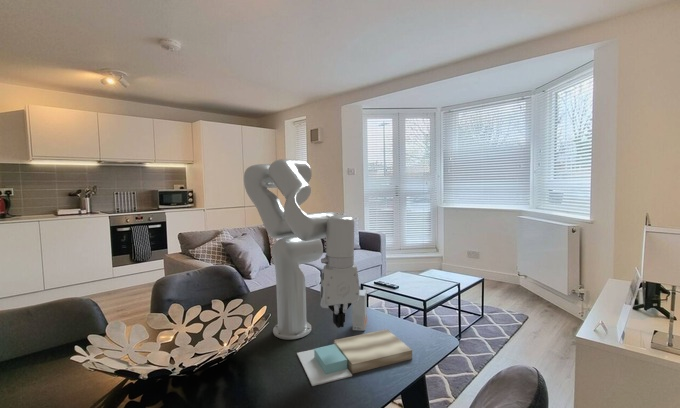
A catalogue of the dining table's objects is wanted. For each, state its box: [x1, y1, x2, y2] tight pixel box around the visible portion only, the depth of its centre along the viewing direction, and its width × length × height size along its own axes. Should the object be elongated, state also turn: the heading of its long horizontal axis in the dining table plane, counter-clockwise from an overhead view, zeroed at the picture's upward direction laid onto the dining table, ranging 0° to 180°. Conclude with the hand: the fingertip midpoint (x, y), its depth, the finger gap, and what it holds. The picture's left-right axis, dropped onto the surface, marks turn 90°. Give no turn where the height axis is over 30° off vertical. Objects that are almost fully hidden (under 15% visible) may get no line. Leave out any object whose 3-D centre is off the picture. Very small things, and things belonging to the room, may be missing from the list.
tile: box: [313, 343, 348, 374], centre depth 88 cm, size 9×6×2 cm, turn 23°
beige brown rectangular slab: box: [333, 329, 413, 375], centre depth 93 cm, size 14×18×2 cm
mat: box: [296, 348, 353, 387], centre depth 88 cm, size 16×10×1 cm, turn 21°
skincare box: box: [351, 289, 368, 332], centre depth 110 cm, size 6×4×12 cm
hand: (338, 325), depth 90 cm, fingers closed
